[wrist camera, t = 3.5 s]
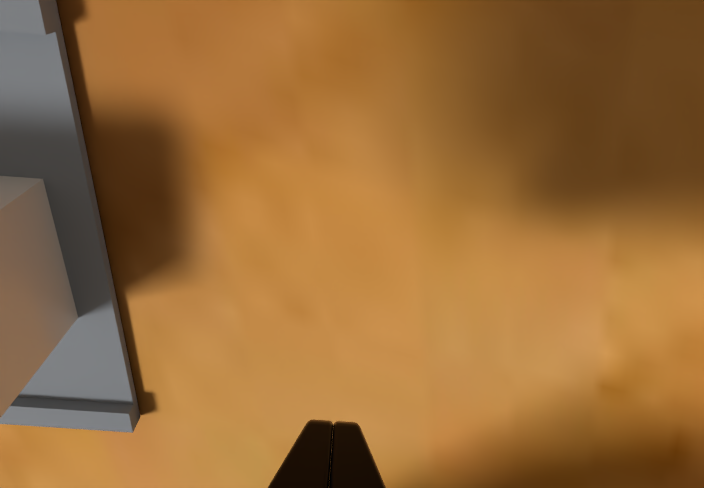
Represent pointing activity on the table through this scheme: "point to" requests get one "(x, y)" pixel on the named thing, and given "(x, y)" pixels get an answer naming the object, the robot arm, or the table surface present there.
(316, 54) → the table surface
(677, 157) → the table surface
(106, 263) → the rubber tray
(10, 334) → the cream matte cube
